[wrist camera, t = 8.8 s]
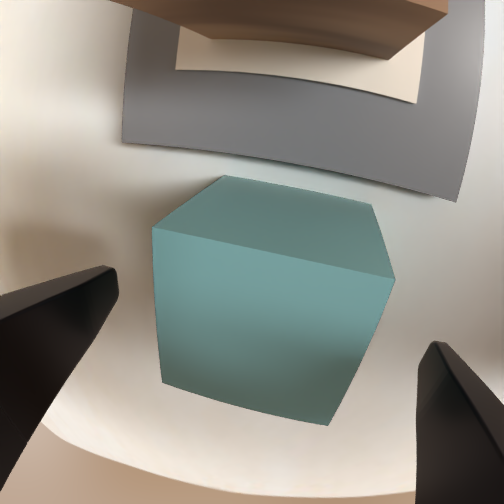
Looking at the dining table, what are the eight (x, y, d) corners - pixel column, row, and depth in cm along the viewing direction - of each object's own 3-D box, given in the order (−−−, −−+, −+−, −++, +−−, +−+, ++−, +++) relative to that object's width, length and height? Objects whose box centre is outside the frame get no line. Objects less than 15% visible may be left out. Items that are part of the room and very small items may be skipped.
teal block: (371, 203, 10) (395, 279, 6) (335, 322, 12) (327, 425, 8) (225, 174, 11) (152, 226, 7) (215, 295, 13) (162, 382, 9)
